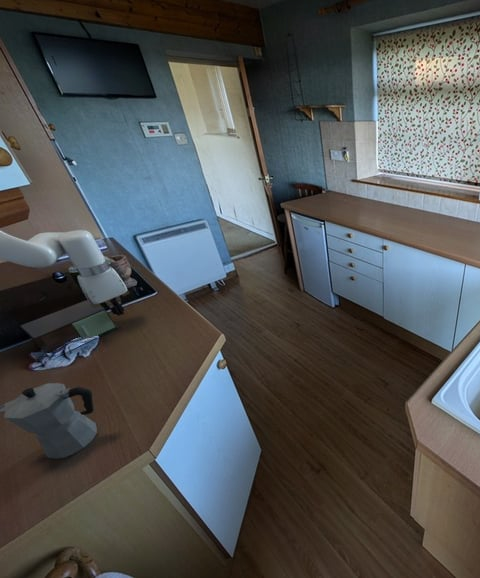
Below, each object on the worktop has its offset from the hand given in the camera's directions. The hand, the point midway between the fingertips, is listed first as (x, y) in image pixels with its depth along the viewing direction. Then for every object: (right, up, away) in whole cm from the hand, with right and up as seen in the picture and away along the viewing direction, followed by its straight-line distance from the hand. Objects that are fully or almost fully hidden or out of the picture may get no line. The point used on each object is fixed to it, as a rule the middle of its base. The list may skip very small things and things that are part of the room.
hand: (119, 313), depth 105 cm
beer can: (-31, +7, +21) cm, 38 cm away
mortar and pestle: (-21, +10, +25) cm, 34 cm away
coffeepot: (+22, -27, -34) cm, 49 cm away
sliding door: (-4, -7, -3) cm, 8 cm away
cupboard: (-11, -8, -3) cm, 14 cm away
